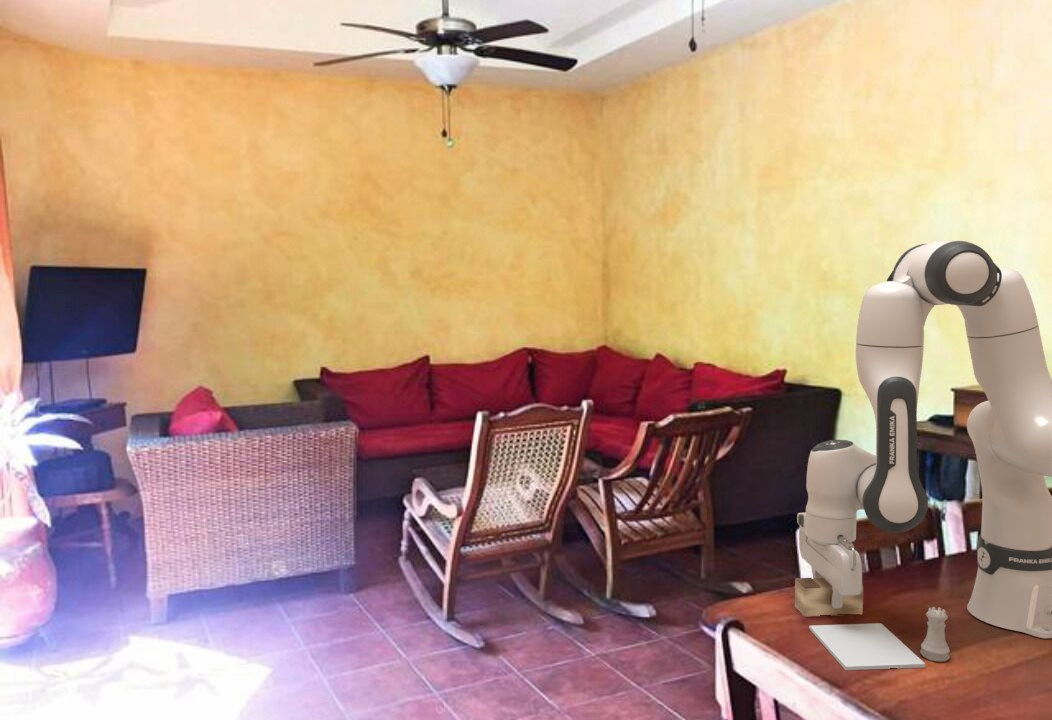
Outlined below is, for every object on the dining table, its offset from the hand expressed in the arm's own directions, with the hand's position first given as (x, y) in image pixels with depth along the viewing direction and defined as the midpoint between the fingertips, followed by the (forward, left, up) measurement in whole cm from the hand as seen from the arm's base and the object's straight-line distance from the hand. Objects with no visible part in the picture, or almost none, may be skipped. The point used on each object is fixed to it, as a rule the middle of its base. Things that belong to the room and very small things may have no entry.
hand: (828, 599), depth 153 cm
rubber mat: (0, +15, -2) cm, 15 cm away
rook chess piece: (-10, +19, -2) cm, 22 cm away
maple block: (0, 0, -2) cm, 2 cm away
